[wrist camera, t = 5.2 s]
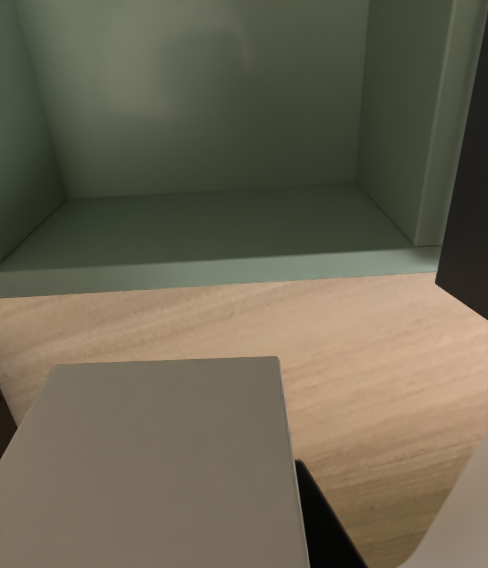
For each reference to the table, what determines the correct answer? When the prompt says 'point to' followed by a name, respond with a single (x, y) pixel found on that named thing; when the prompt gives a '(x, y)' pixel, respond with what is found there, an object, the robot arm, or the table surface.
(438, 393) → the table surface
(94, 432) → the white block
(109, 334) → the table surface
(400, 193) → the open box
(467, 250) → the box lid
